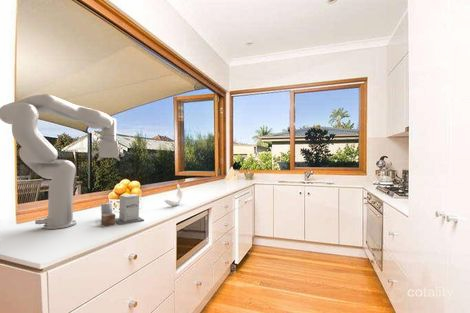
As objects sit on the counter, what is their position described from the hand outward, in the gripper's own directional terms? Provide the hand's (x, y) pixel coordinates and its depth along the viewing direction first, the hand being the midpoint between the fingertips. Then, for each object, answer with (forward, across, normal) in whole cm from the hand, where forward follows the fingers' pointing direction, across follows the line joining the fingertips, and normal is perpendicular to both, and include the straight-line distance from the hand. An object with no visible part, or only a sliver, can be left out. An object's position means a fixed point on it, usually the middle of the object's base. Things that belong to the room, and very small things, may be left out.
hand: (108, 167), depth 137 cm
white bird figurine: (+28, +42, +1) cm, 50 cm away
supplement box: (+27, +6, -23) cm, 36 cm away
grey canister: (+27, -3, -13) cm, 30 cm away
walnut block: (+27, -4, -25) cm, 37 cm away
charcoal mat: (+27, +6, -23) cm, 36 cm away
